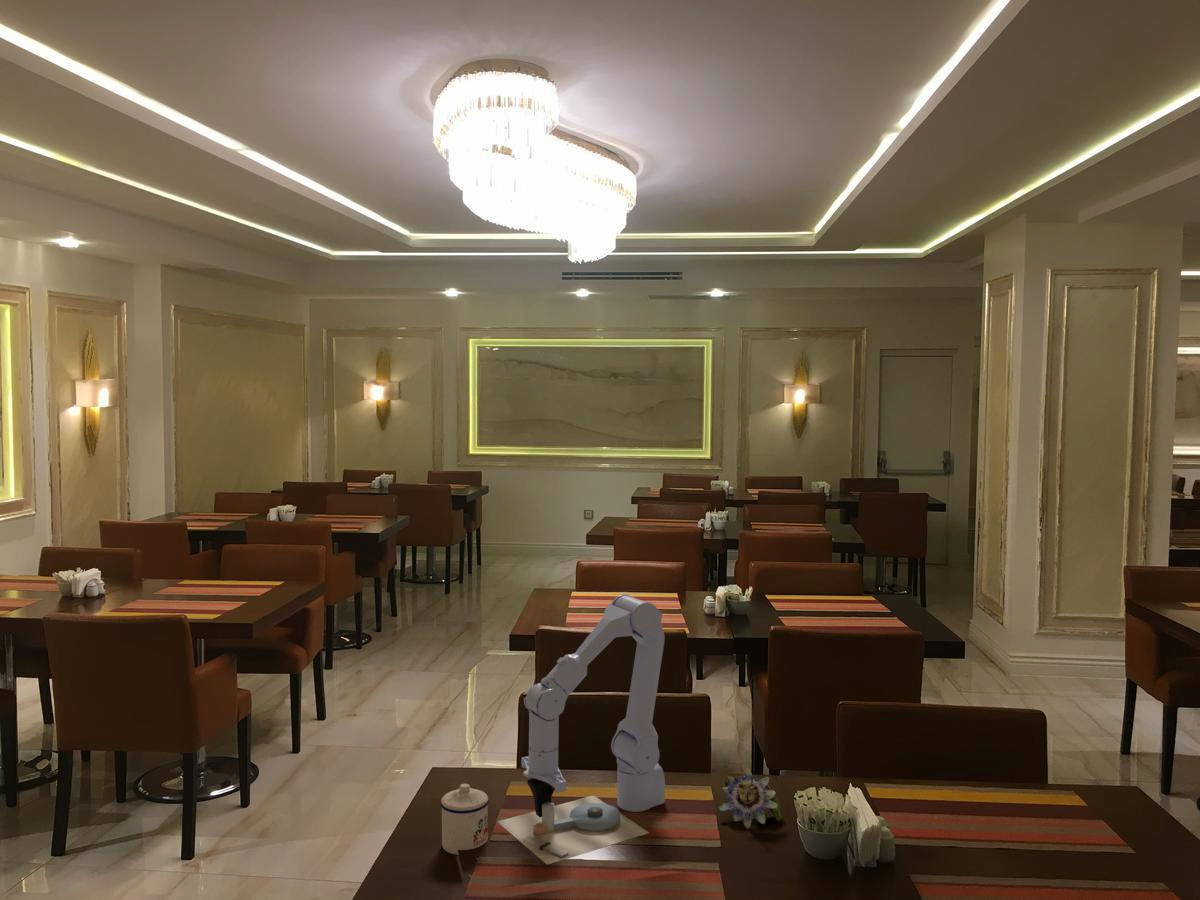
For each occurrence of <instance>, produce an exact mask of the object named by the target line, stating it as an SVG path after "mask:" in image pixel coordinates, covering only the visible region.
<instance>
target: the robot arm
mask: <svg viewBox="0 0 1200 900" xmlns="http://www.w3.org/2000/svg"><path fill="white" fill-rule="evenodd" d="M662 619H663V613H662V612H661V610H659V609H658V608H657V606H655V604H653V603H651V602H648V601H644V600H641V599H638V598H636V597H633V596H631V595H629V594H627V593H626V594H625V593H624V594H619V595H617V596H615V598H614V599H613V600H612V602H611V604H609V605H607V606H606V607H605V610H604V612H603V616H602V618H601V619H600V620H599V622H598V623H597V625H596V626H595V627H594V628H593V629H592V630H591V632H590V633H589V634H588V636H586V638H585V639H584V640H583V642H582V643H581V645H580V646H579V647H578V648H577V650H576V651H575V652H574V653H570V654H569V653H568V654H565V655H564V656H563V657H559V658H558V659H557V660H556V665H555V666H554V667H553V668H552V669H551V671H550V672H549V673H548V674H547V675H546V676H544V677H543V678H542V679H541V680H540V682H538V683H536V684H534V685H532V686H531V687H530V688H529V689H528V691H527V693H526V696H525V697H523V704H524V706H525V708H526V709H527V710H528V717H529V718H528V720H529V721H528V756H524V757H521V761H520V763H521V764H520V765H521V768H522V769H525V770H524V771H523V774H522V775H523V776H524V777H525V778H527V779H528V780H527V782H526V783H527V785H528V788H529V789H530V791H531V794H532V796H533V801H534V811H535V812H536V815H537V816H539V817H542V804H543V803H545V802H552V797H553V794H554V792H555V793H556V794H560V793H564V792H566V791H567V780H565V778H564V777H563V774H562V773H561V770H560V768H559V717H560V715H561V714H563V712H564V710H565V706H566V701H567V700H568V697H569V696H570V695H571V694H572V692H573V691H574V690H575V689H576V688H577V687H578V685H580V683H581V682H583V680H584V679H585V677H587V675H588V665H589V664H590V663H591V662H592V661H593V660H594V659H595V658H596V657H597V656H598V655H600V653H601V652H602V651H603V650H604V649H605V648H606V647H608V645H609V644H610V643H612V642H613V640H615V638H622V637H630V636H631V637H632V638H633V639H634V641H635V642H636V647H635V649H636V650H635V656H634V661H633V668H632V676H631V682H630V687H629V694H628V695H629V696H628V701H627V707H626V714H625V717H624V719H622V720H620V721H619V722H618V723H617V729H616V732H615V734H614V736H613V737H612V740H611V743H610V749H611V752H612V754H613V755H614V756H615V757H616V764H617V777H616V778H617V784H616V785H617V788H616V789H617V794H616V795H617V799H616V801H617V804H616V805H617V807H619V808H620V809H621V810H623V811H627V812H636V813H639V812H645V811H648V810H649V809H651V808H654V807H657V806H660V805H663V804H665V801H666V800H665V799H666V798H665V797H666V795H665V793H666V787H665V786H666V778H665V773H664V770H663V768H662V766H661V765H660V764H659V760H660V749H659V746H658V745H659V744H658V742H659V734H658V733H657V731H656V730H657V729H656V728H655V726H654V725H653V719H654V711H655V705H656V698H657V692H658V686H659V679H660V672H661V665H662V661H663V660H662V659H663V653H664V648H665V639H666V637H665V633H664V628H663V625H662Z"/></svg>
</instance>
